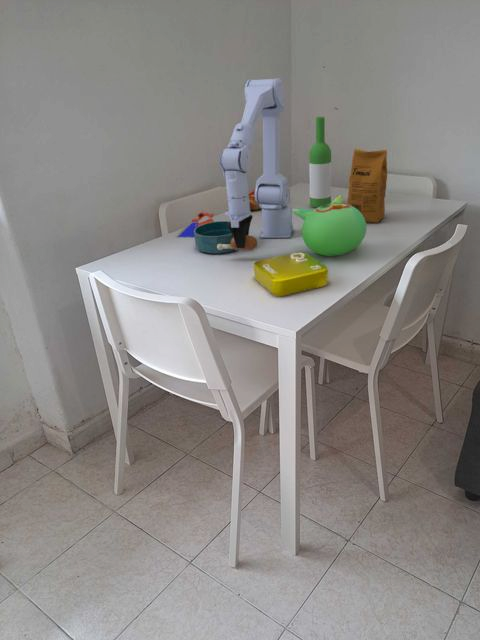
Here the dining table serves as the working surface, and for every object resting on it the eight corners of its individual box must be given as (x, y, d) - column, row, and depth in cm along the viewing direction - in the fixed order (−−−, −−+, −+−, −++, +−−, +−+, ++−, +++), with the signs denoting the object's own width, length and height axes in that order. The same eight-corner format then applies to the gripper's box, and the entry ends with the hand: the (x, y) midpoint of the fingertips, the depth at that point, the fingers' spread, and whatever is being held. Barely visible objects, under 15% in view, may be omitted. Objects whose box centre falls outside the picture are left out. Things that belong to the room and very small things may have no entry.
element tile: (252, 277, 130) (250, 260, 127) (303, 265, 134) (302, 248, 132) (276, 298, 118) (275, 280, 115) (330, 285, 122) (331, 266, 120)
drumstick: (258, 247, 141) (257, 233, 138) (256, 252, 137) (255, 238, 135) (219, 247, 142) (217, 234, 140) (215, 252, 139) (214, 238, 137)
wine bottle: (306, 207, 182) (304, 118, 167) (315, 202, 188) (315, 115, 172) (325, 209, 179) (325, 118, 163) (334, 203, 184) (335, 115, 169)
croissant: (273, 206, 198) (265, 187, 197) (291, 197, 191) (283, 177, 189) (238, 219, 184) (229, 199, 183) (256, 210, 177) (247, 188, 176)
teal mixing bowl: (248, 237, 157) (246, 220, 154) (239, 254, 145) (237, 236, 142) (203, 238, 160) (200, 221, 157) (190, 254, 147) (187, 237, 144)
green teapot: (319, 268, 132) (319, 214, 124) (291, 250, 145) (289, 199, 137) (376, 255, 137) (379, 202, 130) (343, 238, 151) (345, 189, 143)
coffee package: (354, 212, 173) (356, 145, 162) (388, 216, 167) (393, 147, 155) (342, 220, 166) (343, 151, 155) (377, 225, 160) (381, 153, 148)
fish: (195, 208, 171) (219, 208, 169) (197, 222, 173) (220, 222, 171) (183, 220, 160) (208, 219, 158) (185, 234, 162) (210, 234, 161)
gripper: (229, 189, 138) (233, 236, 146) (217, 203, 126) (223, 254, 133) (253, 188, 137) (257, 236, 144) (244, 203, 125) (248, 254, 132)
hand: (242, 244), depth 139 cm, fingers closed on drumstick, 4 cm apart
